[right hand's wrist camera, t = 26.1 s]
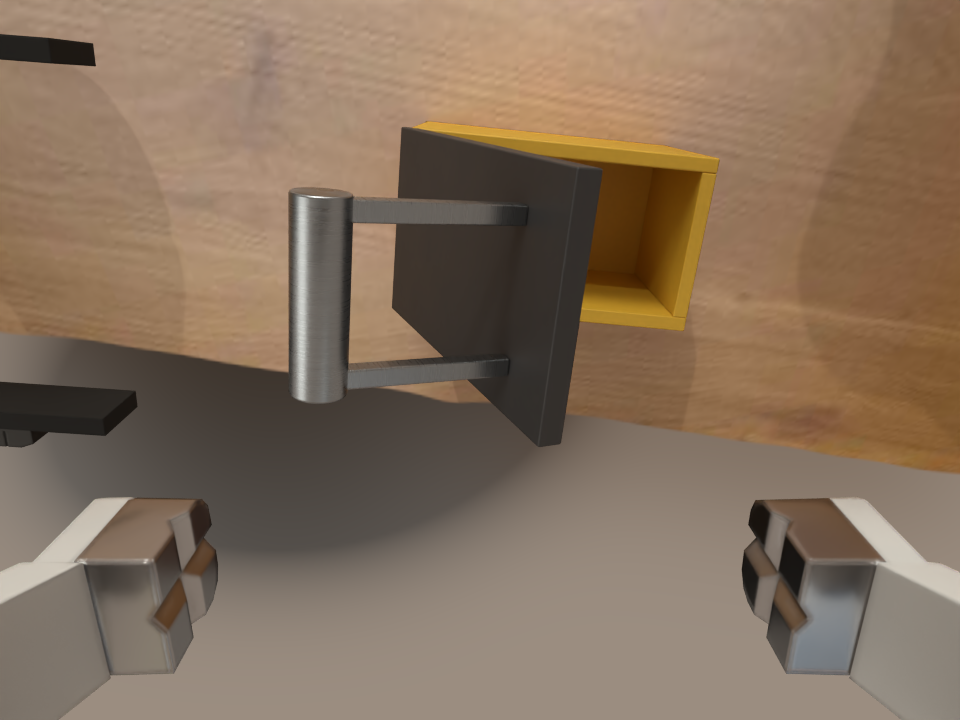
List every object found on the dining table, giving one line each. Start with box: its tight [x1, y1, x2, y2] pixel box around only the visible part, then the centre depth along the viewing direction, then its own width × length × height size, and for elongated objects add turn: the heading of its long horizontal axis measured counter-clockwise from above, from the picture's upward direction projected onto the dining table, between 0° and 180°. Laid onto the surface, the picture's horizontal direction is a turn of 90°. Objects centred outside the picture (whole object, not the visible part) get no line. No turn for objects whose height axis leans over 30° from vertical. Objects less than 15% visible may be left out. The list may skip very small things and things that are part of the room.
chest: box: [412, 121, 719, 331], centre depth 42 cm, size 16×9×11 cm, turn 84°
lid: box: [289, 127, 603, 447], centre depth 27 cm, size 16×9×9 cm
